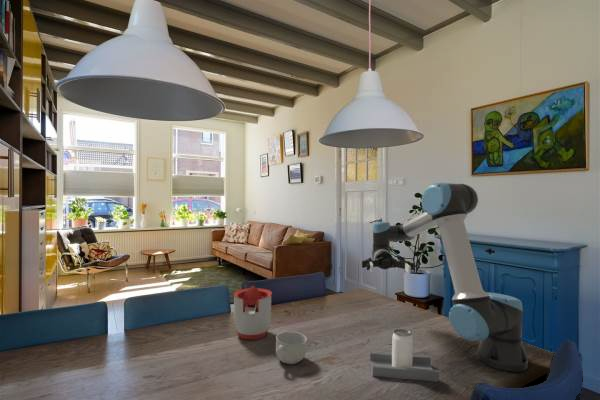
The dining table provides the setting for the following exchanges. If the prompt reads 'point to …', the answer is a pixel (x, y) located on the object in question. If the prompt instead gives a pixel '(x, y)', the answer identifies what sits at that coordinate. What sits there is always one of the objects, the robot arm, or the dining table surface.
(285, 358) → the teacup
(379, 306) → the dining table surface
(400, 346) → the can
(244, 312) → the citrus juicer
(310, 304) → the dining table surface
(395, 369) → the tray
